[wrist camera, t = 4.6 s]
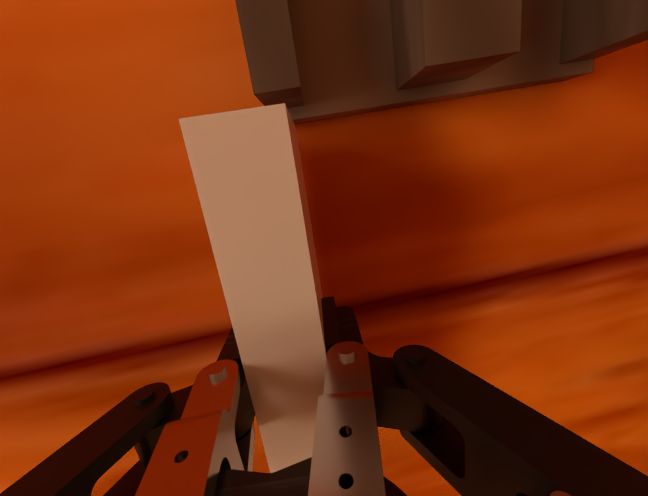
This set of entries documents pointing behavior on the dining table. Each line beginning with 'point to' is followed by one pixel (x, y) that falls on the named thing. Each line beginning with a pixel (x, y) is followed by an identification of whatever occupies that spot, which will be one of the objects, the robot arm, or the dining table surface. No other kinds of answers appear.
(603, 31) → the dark grey holder
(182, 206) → the dining table surface
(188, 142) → the clay strip
